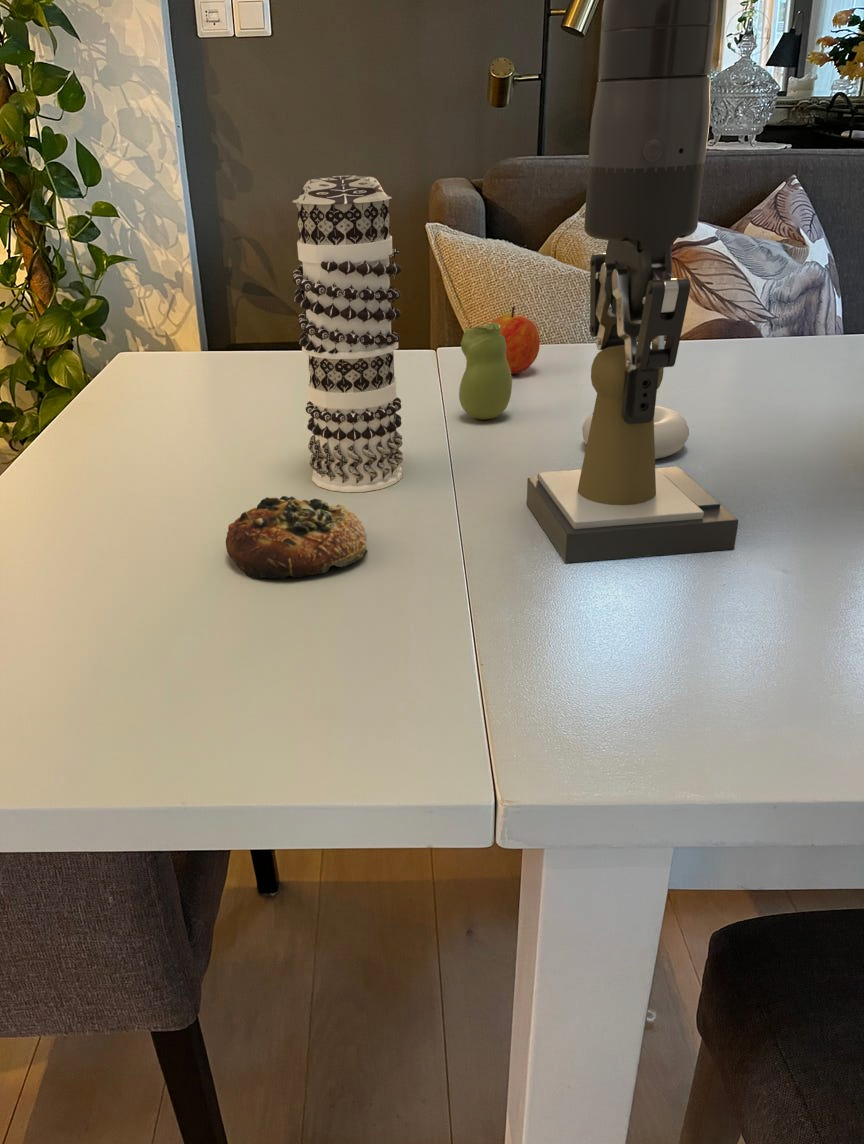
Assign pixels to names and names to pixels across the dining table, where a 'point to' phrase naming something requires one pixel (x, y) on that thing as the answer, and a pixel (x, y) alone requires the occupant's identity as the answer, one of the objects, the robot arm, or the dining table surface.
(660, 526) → the scale
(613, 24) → the robot arm
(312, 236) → the decorative candle
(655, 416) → the donut
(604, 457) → the olive game pawn
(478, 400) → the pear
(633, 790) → the dining table surface
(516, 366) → the fruit
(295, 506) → the bread roll
